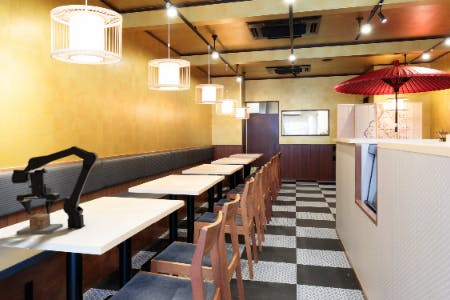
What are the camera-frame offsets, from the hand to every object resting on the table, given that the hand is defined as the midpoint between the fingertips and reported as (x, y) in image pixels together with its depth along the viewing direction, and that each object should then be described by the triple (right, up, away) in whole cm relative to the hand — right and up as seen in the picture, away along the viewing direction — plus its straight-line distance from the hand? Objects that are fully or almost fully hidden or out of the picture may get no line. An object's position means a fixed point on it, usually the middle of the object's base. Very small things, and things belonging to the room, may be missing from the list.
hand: (39, 214), depth 166 cm
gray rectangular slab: (0, -8, 0) cm, 8 cm away
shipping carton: (0, -6, 0) cm, 6 cm away
